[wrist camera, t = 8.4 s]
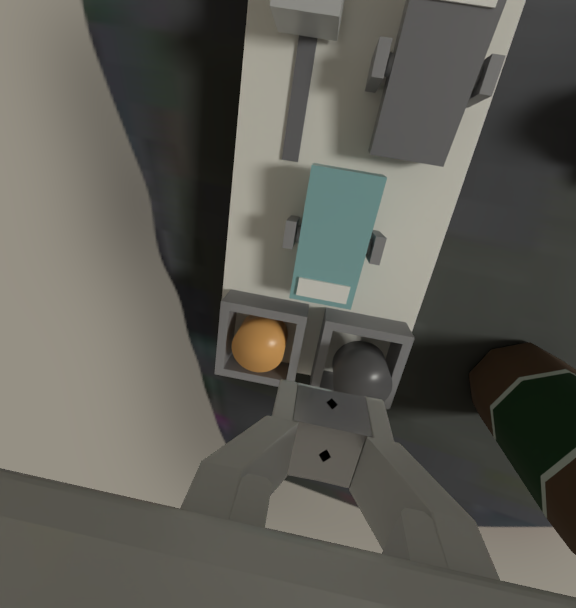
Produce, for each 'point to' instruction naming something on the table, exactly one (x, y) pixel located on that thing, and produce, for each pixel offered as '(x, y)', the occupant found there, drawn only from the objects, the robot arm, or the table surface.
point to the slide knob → (308, 17)
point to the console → (346, 154)
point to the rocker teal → (335, 234)
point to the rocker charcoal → (432, 77)
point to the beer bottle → (533, 424)
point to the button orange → (260, 343)
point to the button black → (361, 371)
